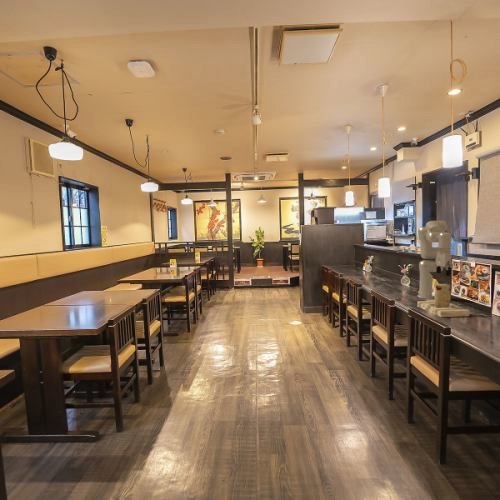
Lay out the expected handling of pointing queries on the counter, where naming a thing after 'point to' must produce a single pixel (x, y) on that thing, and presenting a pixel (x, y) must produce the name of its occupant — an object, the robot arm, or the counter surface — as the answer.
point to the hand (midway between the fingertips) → (443, 274)
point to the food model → (442, 296)
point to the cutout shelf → (443, 309)
